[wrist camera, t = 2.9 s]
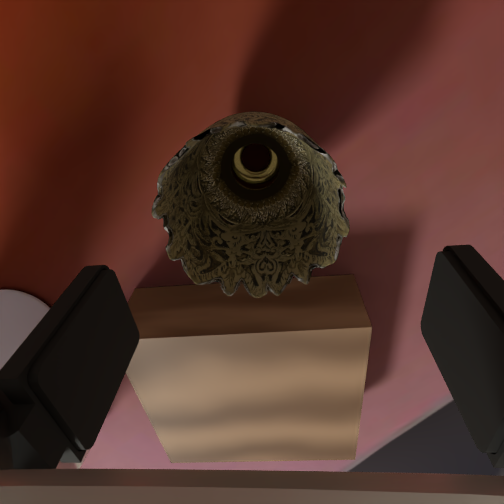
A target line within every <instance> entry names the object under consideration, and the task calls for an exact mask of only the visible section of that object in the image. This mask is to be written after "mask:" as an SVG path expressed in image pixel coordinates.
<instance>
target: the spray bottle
mask: <svg viewBox="0 0 504 504" xmlns="http://www.w3.org/2000/svg"><path fill="white" fill-rule="evenodd" d="M49 310H50V307H48V306H47V305H46V304H45V303H44V302H42V301H41V300H39V299H38V298H36V297H34V296H32V295H30V294H27V293H24V292H21V291H16V290H7V289H5V290H0V370H1V368H2V367H3V366H4V365H5V363H6V362H7V361H8V360H9V359H10V357H11V356H12V355H13V354H14V352H15V351H16V350H17V349H18V348H19V346H20V345H21V344H22V343H23V341H24V340H25V339H26V338H27V337H28V335H29V334H30V333H31V332H32V330H33V329H34V328H35V327H36V326H37V324H38V323H39V322H40V321H41V319H42V318H43V317H44V316H45V314H46V313H47V312H48V311H49Z"/></svg>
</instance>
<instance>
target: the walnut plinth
mask: <svg viewBox="0 0 504 504" xmlns="http://www.w3.org/2000/svg"><path fill="white" fill-rule="evenodd" d="M240 283H242V282H240ZM220 286H221V287H220ZM238 286H239V285H238ZM238 286H237V287H238ZM128 306H129V308H130V311H131V313H132V316H133V318H134V320H135V323H136V325H137V328H138V330H139V335H140V339H139V343H138V346H137V348H136V350H135V352H134V355H133V357H132V359H131V361H130V364H129V366H128V368H127V370H126V374H127V376H128V378H129V380H130V382H131V384H132V386H133V388H134V390H135V392H136V394H137V396H138V398H139V400H140V402H141V404H142V406H143V408H144V410H145V412H146V414H147V416H148V418H149V420H150V422H151V424H152V426H153V428H154V430H155V432H156V434H157V436H158V438H159V440H160V442H161V444H162V446H163V447H164V449H165V451H166V453H167V455H168V457H169V459H170V461H171V463H190V462H245V461H301V460H355V456H356V448H357V440H358V433H359V425H360V417H361V409H362V402H363V394H364V386H365V379H366V371H367V363H368V355H369V348H370V340H371V332H372V325H371V322H370V320H369V317H368V314H367V311H366V308H365V306H364V303H363V300H362V297H361V294H360V291H359V289H358V286H357V283H356V280H355V277H354V274H351V275H336V276H320V277H311V278H310V281H309V283H308V284H304V283H302V282H301V281H299V280H298V279H297V278H292V281H291V283H290V284H288V285H287V286H286V288H285V289H284V291H283V292H282V293H281V294H280V295H279V296H276V295H275V294H274V293H273V292H270V291H268V292H267V294H266V295H264V296H262V297H260V298H255V297H252V296H251V295H249V294H248V292H247V291H246V289H245V287H244V285H243V284H241V285H240V286H239V287H238V290H237V291H235V293H233V295H232V296H227V295H226V294H225V293H224V291H223V290H222V285H221V284H220V283H212V284H203V285H198V284H196V285H181V286H165V287H150V288H135V290H134V292H133V294H132V296H131V298H130V300H129V302H128Z"/></svg>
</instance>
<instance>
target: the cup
mask: <svg viewBox="0 0 504 504" xmlns="http://www.w3.org/2000/svg"><path fill="white" fill-rule="evenodd" d="M250 144H262V145H264V146H265V147H266V148H267V149H268V151H269V153H270V162H269V164H268V166H267V167H266V168H265V169H263V170H261V171H251V170H249V169H247V168H246V167H245V166H244V164H243V162H242V153H243V150H244V149H245V148H246V147H247V146H248V145H250ZM343 187H345V188H346V183H345V181H344V179H343V177H342V175H341V174H340V173H339V171H338V169H337V166H336V163H335V162H334V160H333V159H332V158H331V156H330V155H329V154H328V153H327V152H326V151H325V150H323V149H322V148H321V147H319V145H318V144H317V143H316V142H315V141H314V140H313V139H312V138H311V137H310V136H308V135H307V134H306V133H305V132H304V131H303V130H302V129H300V128H299V127H298V126H296V125H295V124H294V123H292V122H290V121H288V120H287V119H284V118H282V117H280V116H277V115H274V114H270V113H265V112H243V113H238V114H234V115H231V116H228V117H226V118H223V119H221V120H219V121H217V122H216V123H214V124H212V125H211V126H209V127H208V128H206V129H205V130H204V131H202V132H201V133H200V134H198V135H197V136H195V137H193V138H192V139H190V140H189V141H187V142H186V145H185V146H184V147H183V148H182V149H181V150H180V151H179V152H178V153H177V154H176V155H175V156H174V157H173V158H172V159H171V160H170V161H169V162H168V163H167V165H166V166H165V167H164V168H163V170H162V171H161V173H160V175H159V177H158V182H157V188H158V195H157V196H156V198H155V200H154V203H153V207H152V216H153V217H154V218H157V219H158V220H159V219H161V218H163V219H164V224H163V227H164V229H165V230H167V232H168V234H169V241H168V244H167V246H166V251H167V254H168V256H169V258H170V259H171V260H173V261H175V260H179V259H180V260H181V262H182V266H183V269H184V271H185V272H186V274H187V275H188V276H189V277H190V279H191V280H192V281H193V282H194V283H195V284H198V285H203V284H210V283H212V282H219V281H220V282H221V283H220V282H219V283H220V284H221V285H222V290H223V291H224V293H225V294H226V295H227V296H232V295H233V293H235V291H237V290H238V287H239V286H240V285H241V284H243V285H244V287H245V289H246V291H247V292H248V294H249V295H251V296H252V297H255V298H260V297H262V296H264V295H266V294H267V292H268V291H270V292H273V293H274V294H275V295H276V296H279V295H280V294H281V293H282V292H283V291H284V289H285V288H286V286H287V285H288V284H290V283H291V281H292V277H293V276H295V277H296V278H297V279H298V280H299V281H301V282H302V283H304V284H308V283H309V281H310V278H311V273H312V269H314V268H316V267H320V268H324V267H326V266H328V265H330V264H333V263H334V262H335V261H336V259H337V257H338V253H339V249H340V245H341V242H342V237H347V235H348V233H349V229H350V225H349V220H348V218H347V217H346V215H345V212H344V201H345V195H344V193H343ZM240 282H242V283H240ZM238 285H239V286H238ZM237 286H238V287H237ZM220 287H221V286H220Z"/></svg>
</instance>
